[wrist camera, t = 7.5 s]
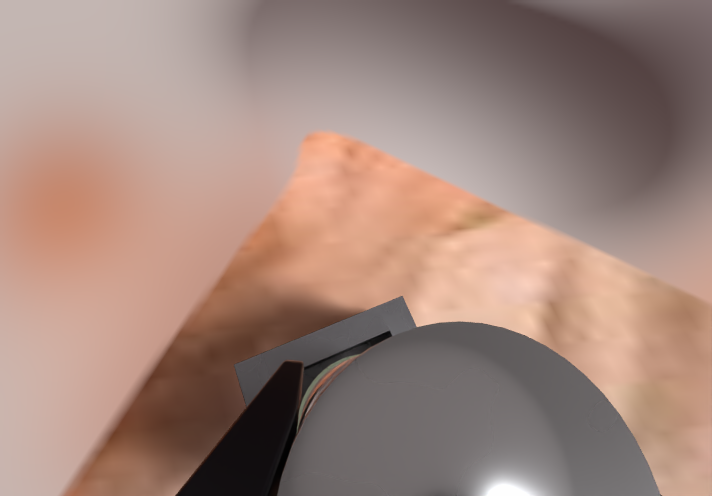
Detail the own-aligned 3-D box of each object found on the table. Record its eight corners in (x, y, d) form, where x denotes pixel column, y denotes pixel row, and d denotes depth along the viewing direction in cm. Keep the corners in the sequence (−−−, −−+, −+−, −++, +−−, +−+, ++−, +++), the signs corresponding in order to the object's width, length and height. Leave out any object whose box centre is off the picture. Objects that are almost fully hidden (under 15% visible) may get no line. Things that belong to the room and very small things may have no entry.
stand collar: (434, 445, 19) (491, 477, 13) (289, 522, 17) (277, 601, 11) (377, 314, 21) (404, 289, 15) (242, 370, 19) (210, 368, 13)
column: (421, 444, 15) (767, 657, 4) (322, 496, 14) (376, 1020, 3) (378, 343, 16) (539, 268, 5) (284, 384, 15) (208, 411, 4)
